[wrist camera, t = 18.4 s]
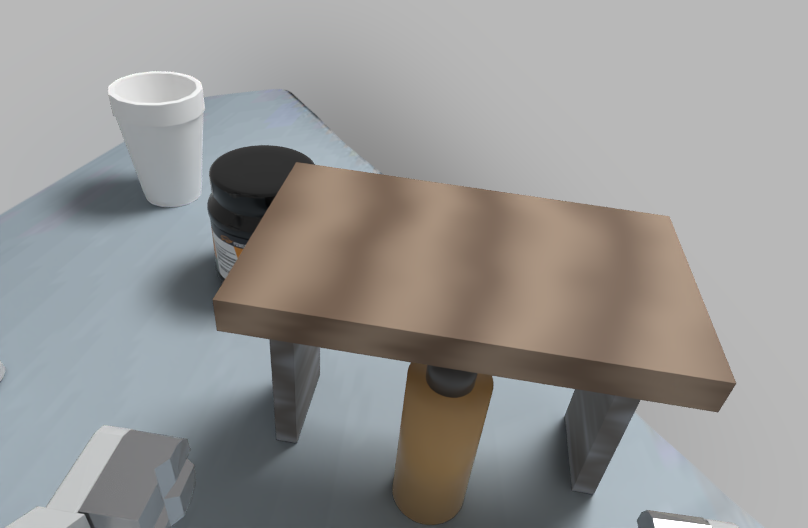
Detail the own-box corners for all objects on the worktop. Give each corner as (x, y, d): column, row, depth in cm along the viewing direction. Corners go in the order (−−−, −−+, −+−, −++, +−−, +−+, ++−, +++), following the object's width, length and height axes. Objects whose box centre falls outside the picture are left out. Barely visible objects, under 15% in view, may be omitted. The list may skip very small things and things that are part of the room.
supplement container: (210, 307, 57) (194, 198, 49) (222, 242, 65) (210, 140, 58) (323, 305, 58) (323, 199, 51) (321, 242, 67) (321, 143, 59)
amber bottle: (378, 497, 43) (392, 365, 34) (416, 447, 46) (438, 317, 38) (441, 539, 41) (472, 409, 32) (476, 483, 44) (512, 353, 36)
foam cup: (143, 222, 67) (119, 111, 59) (121, 183, 72) (98, 77, 65) (226, 202, 71) (215, 96, 63) (200, 167, 77) (187, 67, 69)
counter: (244, 525, 40) (212, 299, 28) (301, 371, 51) (296, 162, 39) (605, 591, 39) (736, 383, 27) (584, 418, 50) (669, 216, 38)
